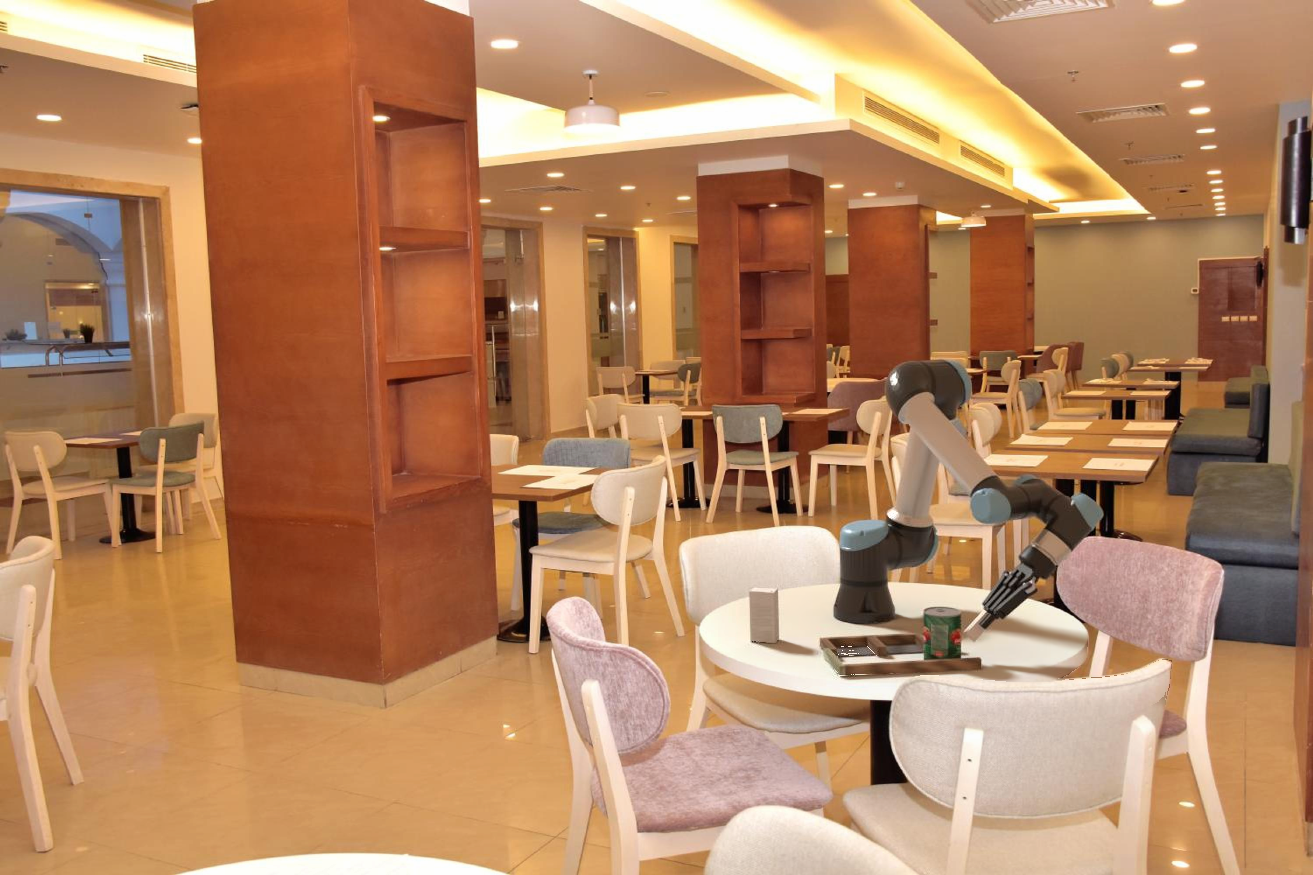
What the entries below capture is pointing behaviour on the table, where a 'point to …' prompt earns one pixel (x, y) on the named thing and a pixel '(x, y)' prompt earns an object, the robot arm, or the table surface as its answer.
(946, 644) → the canned tomato
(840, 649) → the wooden rail frame
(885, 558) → the robot arm
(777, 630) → the skincare box
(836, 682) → the table surface
